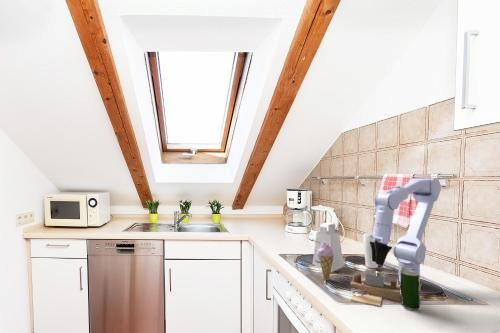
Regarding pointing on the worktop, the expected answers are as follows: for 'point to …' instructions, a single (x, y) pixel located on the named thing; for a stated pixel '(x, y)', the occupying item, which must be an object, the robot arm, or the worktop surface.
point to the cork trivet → (368, 299)
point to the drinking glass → (369, 251)
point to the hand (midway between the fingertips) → (377, 263)
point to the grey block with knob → (374, 278)
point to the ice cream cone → (325, 259)
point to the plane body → (377, 288)
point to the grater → (333, 240)
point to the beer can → (410, 288)
